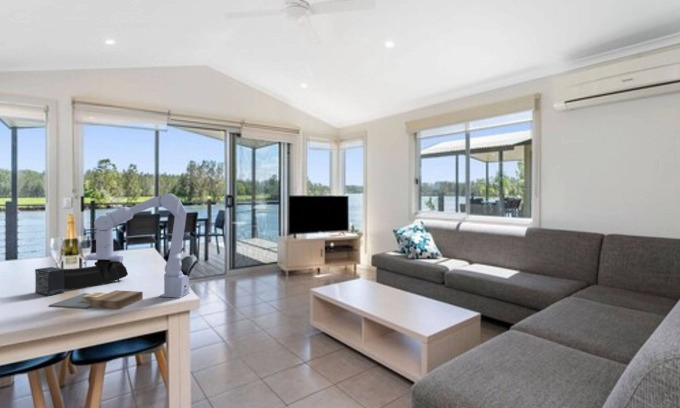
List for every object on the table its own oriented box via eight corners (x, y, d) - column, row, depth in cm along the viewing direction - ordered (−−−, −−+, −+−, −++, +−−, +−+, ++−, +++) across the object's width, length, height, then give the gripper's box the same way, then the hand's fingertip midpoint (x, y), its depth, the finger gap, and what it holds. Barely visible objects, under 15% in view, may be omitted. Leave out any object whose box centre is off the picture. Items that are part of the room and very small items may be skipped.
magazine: (44, 274, 146) (118, 246, 169) (41, 273, 148) (115, 245, 171) (59, 309, 151) (129, 277, 174) (56, 307, 153) (126, 276, 176)
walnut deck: (142, 298, 144) (142, 291, 144) (118, 309, 131) (118, 301, 131) (116, 297, 145) (116, 290, 145) (90, 307, 132) (90, 299, 132)
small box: (65, 292, 151) (65, 268, 150) (48, 296, 145) (47, 271, 144) (52, 289, 155) (51, 266, 155) (34, 293, 149) (34, 269, 149)
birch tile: (110, 297, 143) (110, 293, 143) (98, 302, 137) (98, 297, 137) (95, 296, 144) (95, 292, 144) (82, 301, 138) (82, 296, 138)
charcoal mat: (118, 296, 147) (118, 295, 147) (86, 308, 131) (86, 307, 131) (84, 294, 149) (84, 293, 149) (48, 306, 133) (48, 305, 133)
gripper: (128, 244, 143) (128, 276, 143) (96, 243, 145) (97, 275, 145) (115, 246, 136) (115, 280, 136) (82, 245, 138) (82, 279, 138)
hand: (105, 278), depth 140 cm, fingers closed
